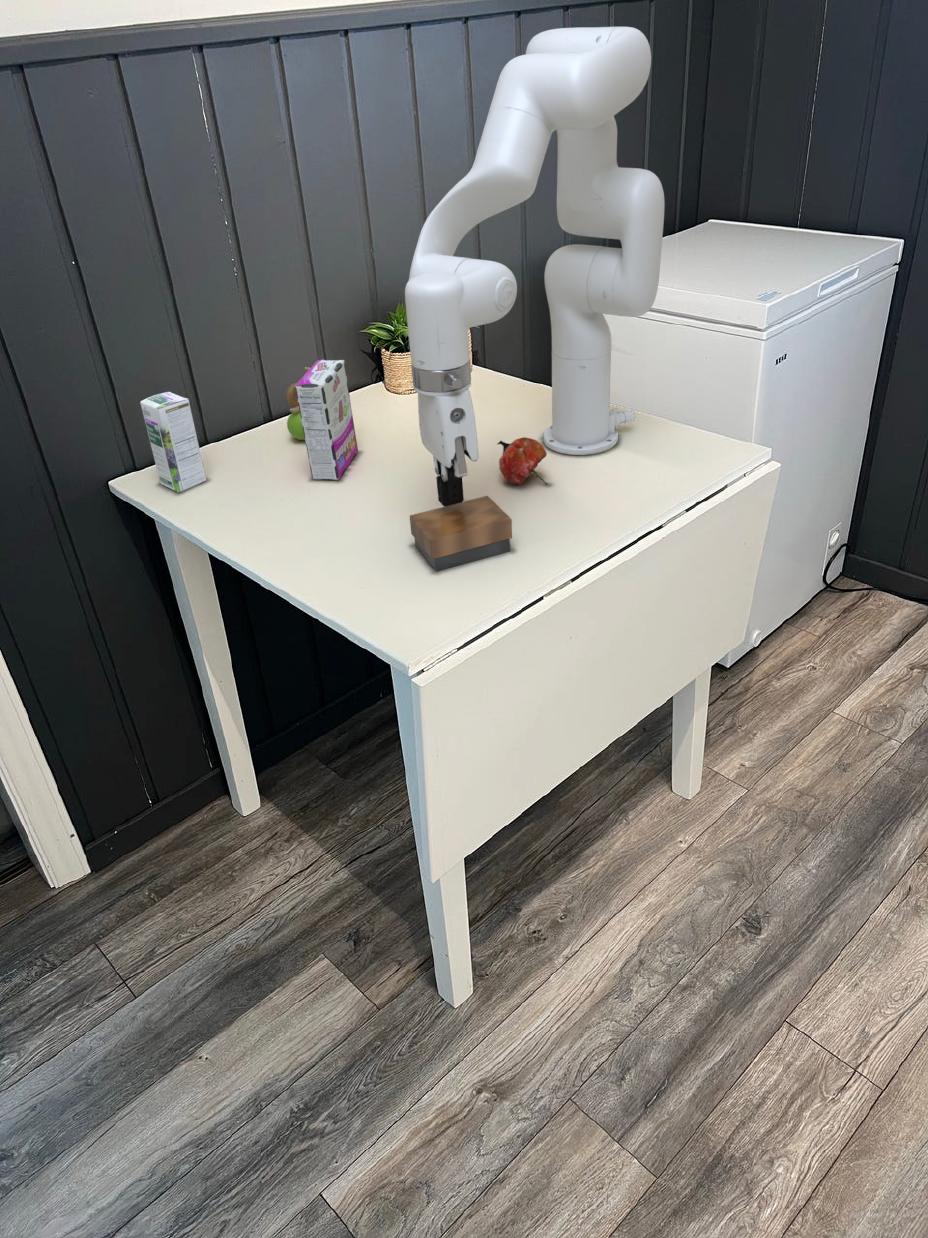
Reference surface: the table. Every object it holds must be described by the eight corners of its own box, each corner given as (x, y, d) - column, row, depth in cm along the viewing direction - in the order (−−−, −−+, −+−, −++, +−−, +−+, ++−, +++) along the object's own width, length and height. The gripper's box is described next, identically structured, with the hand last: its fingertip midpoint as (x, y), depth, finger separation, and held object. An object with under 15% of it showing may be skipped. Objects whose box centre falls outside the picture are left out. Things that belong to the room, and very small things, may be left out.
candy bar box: (331, 451, 163) (317, 358, 154) (358, 452, 162) (346, 358, 153) (309, 480, 154) (293, 383, 145) (339, 481, 153) (324, 384, 144)
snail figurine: (330, 433, 170) (320, 368, 163) (306, 447, 165) (295, 381, 158) (307, 428, 172) (296, 364, 165) (283, 441, 168) (271, 376, 161)
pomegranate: (549, 485, 152) (505, 441, 153) (571, 460, 146) (525, 414, 147) (523, 508, 148) (478, 463, 149) (544, 483, 142) (498, 436, 143)
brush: (487, 495, 135) (511, 518, 129) (489, 525, 138) (512, 550, 132) (409, 515, 132) (430, 540, 126) (412, 546, 135) (433, 572, 128)
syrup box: (159, 484, 156) (136, 400, 148) (189, 471, 160) (169, 389, 152) (178, 493, 153) (156, 408, 145) (208, 480, 157) (189, 396, 148)
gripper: (492, 387, 117) (498, 518, 128) (446, 353, 129) (455, 475, 139) (436, 399, 115) (446, 531, 125) (394, 363, 126) (407, 487, 137)
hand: (451, 501), depth 132 cm, fingers closed
